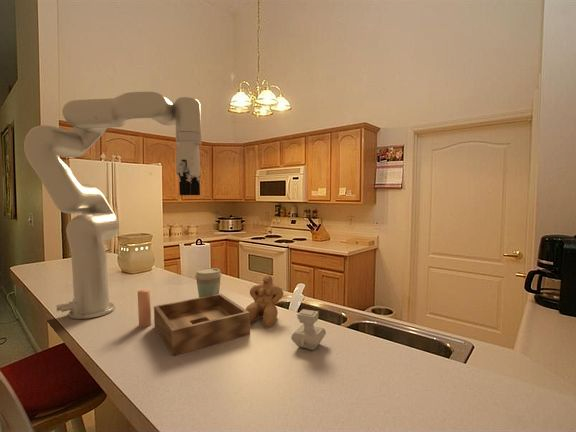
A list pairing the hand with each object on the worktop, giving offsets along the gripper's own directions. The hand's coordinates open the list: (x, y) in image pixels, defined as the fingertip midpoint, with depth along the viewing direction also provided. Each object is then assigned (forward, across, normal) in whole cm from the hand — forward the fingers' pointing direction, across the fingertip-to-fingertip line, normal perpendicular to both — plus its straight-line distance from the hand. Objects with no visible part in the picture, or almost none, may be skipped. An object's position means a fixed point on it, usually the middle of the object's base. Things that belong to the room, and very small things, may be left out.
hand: (190, 195), depth 100 cm
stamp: (+38, +24, +36) cm, 57 cm away
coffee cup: (+38, -5, +4) cm, 38 cm away
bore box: (+37, +14, +6) cm, 41 cm away
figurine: (+38, +7, +23) cm, 44 cm away
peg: (+37, +10, -11) cm, 40 cm away
